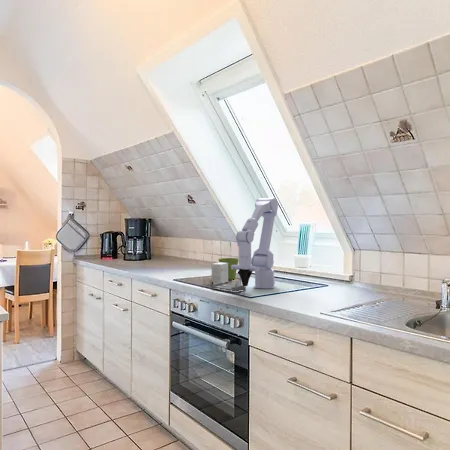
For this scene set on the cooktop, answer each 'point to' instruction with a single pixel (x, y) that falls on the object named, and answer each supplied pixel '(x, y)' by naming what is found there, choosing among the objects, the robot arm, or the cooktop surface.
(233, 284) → the fader knob
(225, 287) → the console strip
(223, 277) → the small box
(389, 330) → the cooktop surface
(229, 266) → the plant pot
